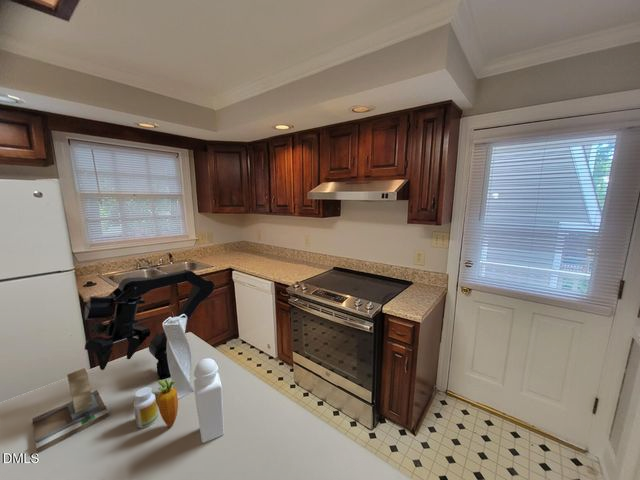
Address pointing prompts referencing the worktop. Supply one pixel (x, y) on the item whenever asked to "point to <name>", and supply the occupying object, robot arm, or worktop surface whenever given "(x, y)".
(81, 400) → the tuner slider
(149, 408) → the supplement bottle
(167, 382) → the carrot
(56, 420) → the board
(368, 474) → the worktop surface
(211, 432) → the white square bottle
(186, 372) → the skyscraper
